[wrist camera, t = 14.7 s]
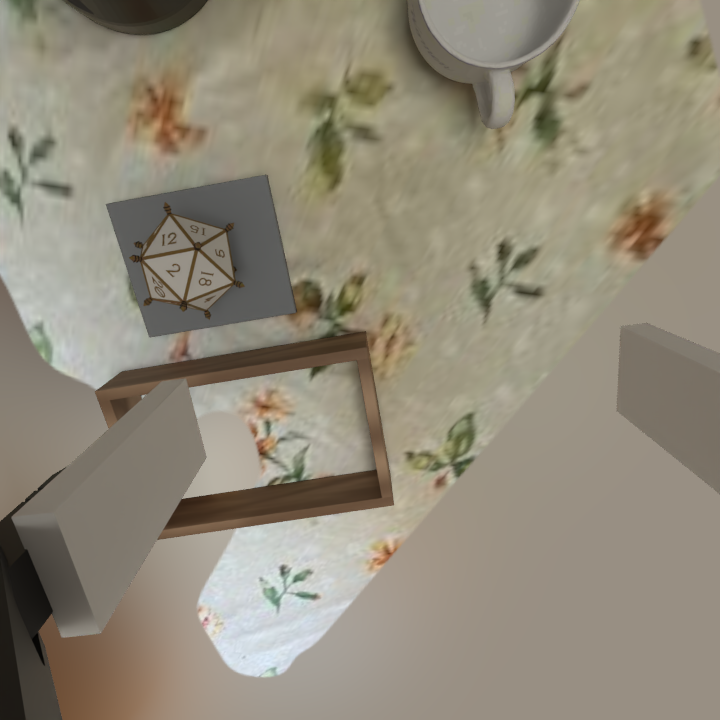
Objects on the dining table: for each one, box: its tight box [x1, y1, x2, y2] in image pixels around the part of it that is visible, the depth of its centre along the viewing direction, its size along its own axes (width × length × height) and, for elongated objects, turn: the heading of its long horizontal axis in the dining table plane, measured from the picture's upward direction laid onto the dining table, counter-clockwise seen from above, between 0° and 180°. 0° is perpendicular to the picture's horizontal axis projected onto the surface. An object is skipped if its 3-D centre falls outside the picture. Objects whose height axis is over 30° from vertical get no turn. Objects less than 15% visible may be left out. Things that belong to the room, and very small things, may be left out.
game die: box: [129, 202, 245, 320], centre depth 38 cm, size 9×8×10 cm
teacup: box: [408, 0, 579, 129], centre depth 34 cm, size 14×11×8 cm
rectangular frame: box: [95, 331, 394, 540], centre depth 46 cm, size 16×24×5 cm, turn 100°
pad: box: [106, 175, 297, 337], centre depth 42 cm, size 12×14×1 cm
